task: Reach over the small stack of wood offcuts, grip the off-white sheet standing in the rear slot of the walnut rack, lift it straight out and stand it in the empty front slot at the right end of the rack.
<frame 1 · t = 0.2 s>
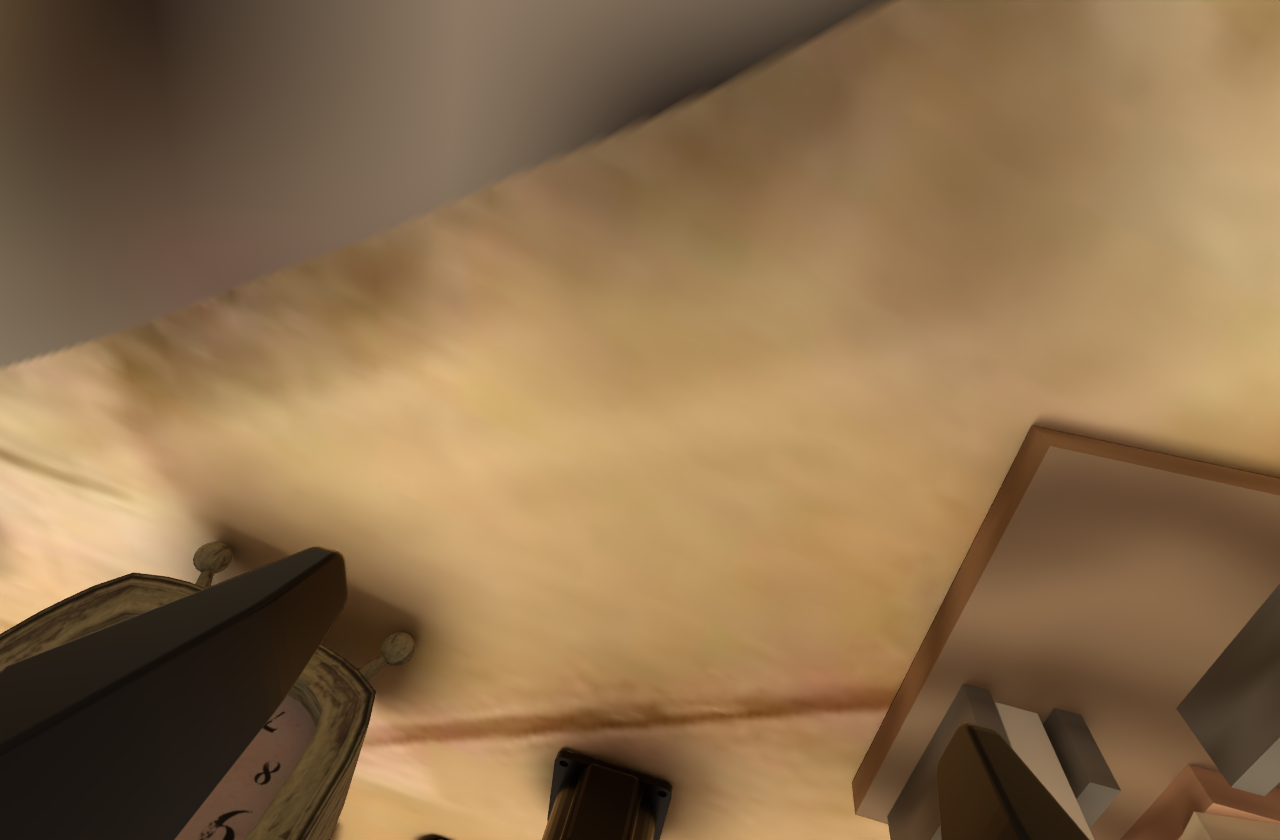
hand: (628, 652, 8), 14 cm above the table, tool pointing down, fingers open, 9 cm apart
cedar offcut: (1206, 836, 24), point 1 cm above the table, touching birch offcut, walnut rack
tabletop clock: (313, 621, 33), on the table
off-white sheet: (975, 770, 25), point 1 cm above the table, touching walnut rack
walnut rack: (1145, 694, 24), on the table
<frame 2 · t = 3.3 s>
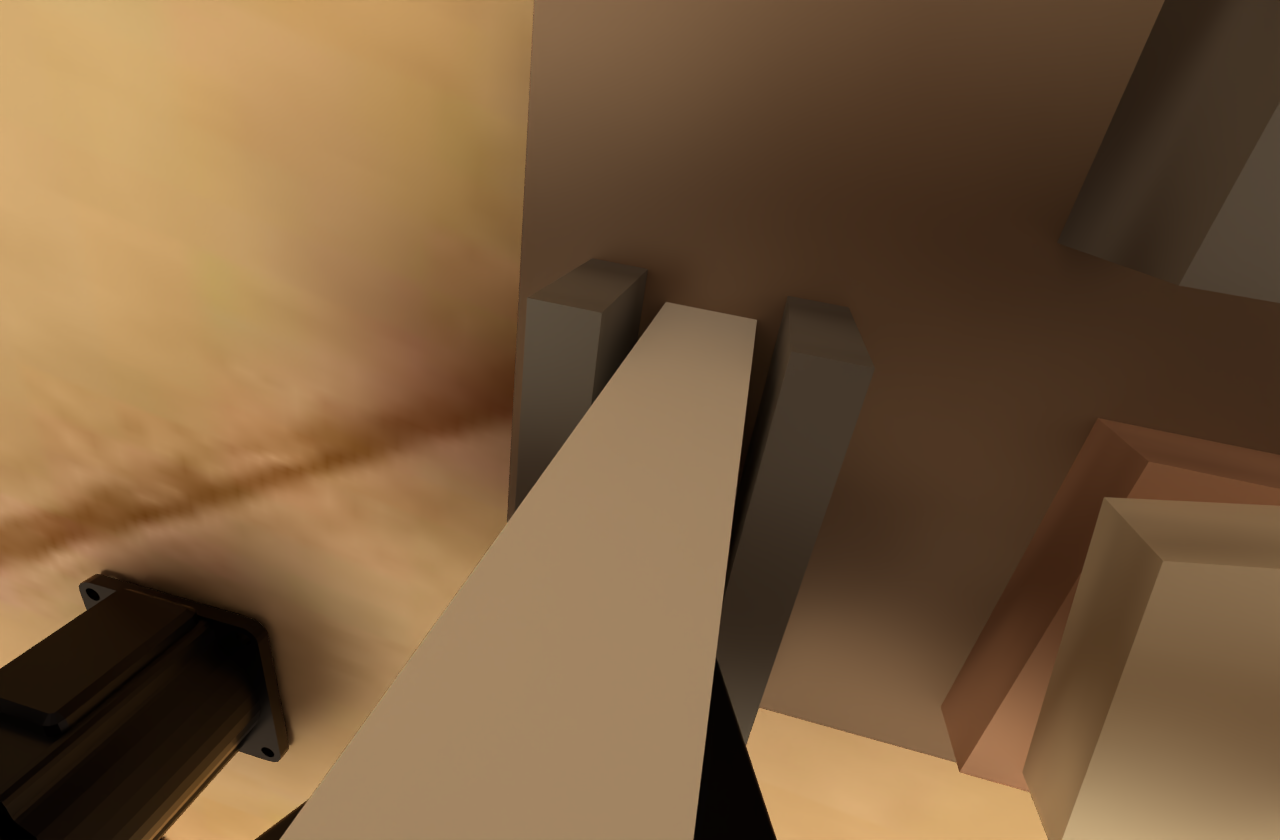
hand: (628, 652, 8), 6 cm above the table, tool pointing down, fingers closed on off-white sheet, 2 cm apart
cedar offcut: (1150, 616, 11), point 1 cm above the table, touching birch offcut, walnut rack
off-white sheet: (672, 501, 12), point 1 cm above the table, touching gripper, walnut rack
birch offcut: (1199, 665, 9), point 3 cm above the table, touching cedar offcut
walnut rack: (1008, 289, 11), on the table
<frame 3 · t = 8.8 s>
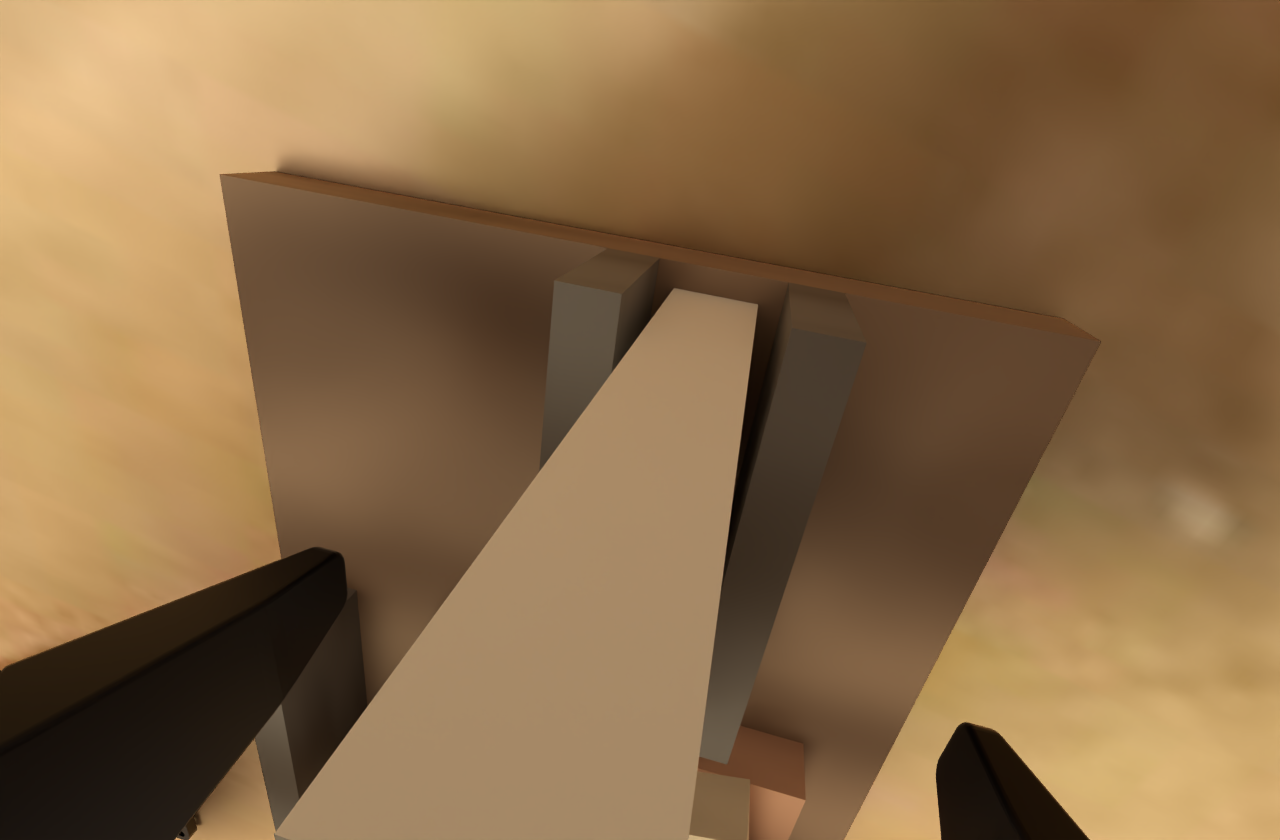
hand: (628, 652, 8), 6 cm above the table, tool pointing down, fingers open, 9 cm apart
cedar offcut: (685, 796, 17), point 1 cm above the table, touching birch offcut, walnut rack
off-white sheet: (679, 476, 13), point 1 cm above the table, touching walnut rack
walnut rack: (586, 597, 17), on the table
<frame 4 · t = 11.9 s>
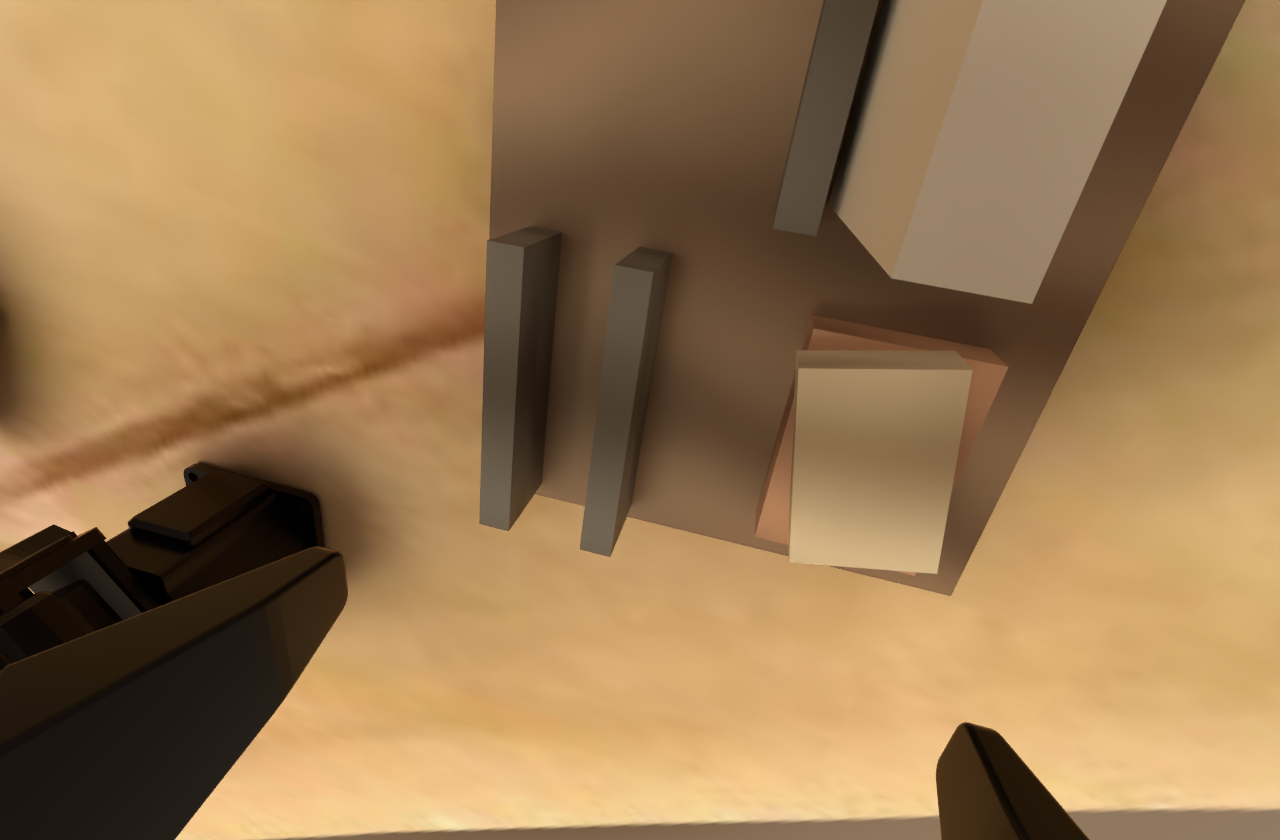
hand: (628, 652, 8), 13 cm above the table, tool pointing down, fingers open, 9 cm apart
cedar offcut: (861, 438, 19), point 1 cm above the table, touching birch offcut, walnut rack
off-white sheet: (909, 34, 14), point 1 cm above the table, touching walnut rack
birch offcut: (864, 450, 17), point 3 cm above the table, touching cedar offcut
walnut rack: (772, 245, 18), on the table
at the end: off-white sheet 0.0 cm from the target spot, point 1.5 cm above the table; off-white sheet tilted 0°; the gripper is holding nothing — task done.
